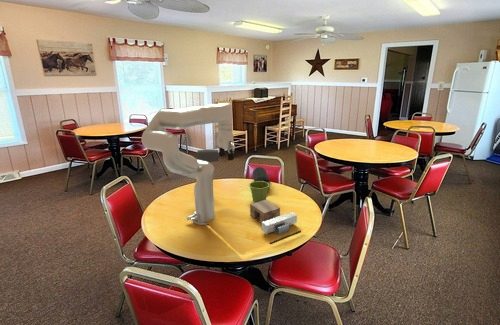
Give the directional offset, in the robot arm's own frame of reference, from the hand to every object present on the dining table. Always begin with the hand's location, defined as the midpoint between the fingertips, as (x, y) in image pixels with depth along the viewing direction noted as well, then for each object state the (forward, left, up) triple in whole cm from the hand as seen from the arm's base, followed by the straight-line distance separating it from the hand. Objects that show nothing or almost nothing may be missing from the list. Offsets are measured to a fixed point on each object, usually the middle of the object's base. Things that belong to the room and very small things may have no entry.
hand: (226, 158), depth 157 cm
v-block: (+5, -40, -28) cm, 49 cm away
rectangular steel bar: (+6, -39, -25) cm, 47 cm away
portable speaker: (+34, +14, -29) cm, 46 cm away
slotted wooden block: (+7, -26, -28) cm, 39 cm away
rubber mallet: (-3, +17, -28) cm, 33 cm away
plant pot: (+17, -7, -28) cm, 34 cm away
